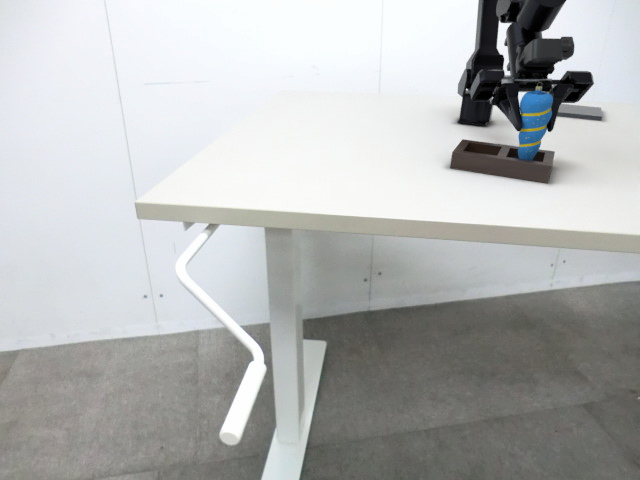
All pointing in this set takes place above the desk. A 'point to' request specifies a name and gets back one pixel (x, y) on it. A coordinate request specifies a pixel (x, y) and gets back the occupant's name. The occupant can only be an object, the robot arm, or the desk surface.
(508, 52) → the robot arm
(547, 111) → the ornament
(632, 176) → the desk surface
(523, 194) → the desk surface
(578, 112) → the coaster
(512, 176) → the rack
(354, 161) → the desk surface
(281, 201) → the desk surface
